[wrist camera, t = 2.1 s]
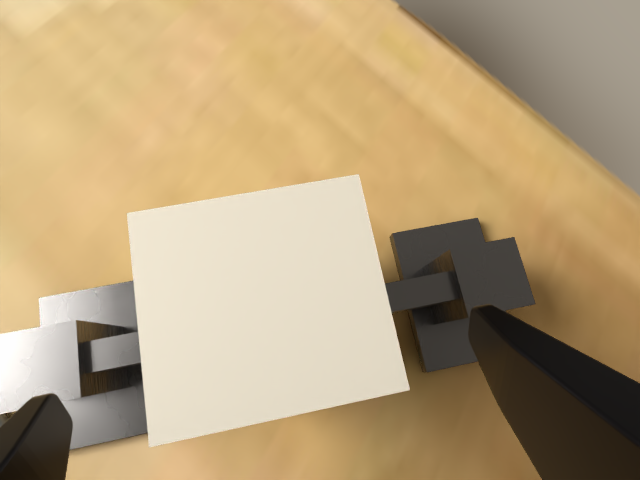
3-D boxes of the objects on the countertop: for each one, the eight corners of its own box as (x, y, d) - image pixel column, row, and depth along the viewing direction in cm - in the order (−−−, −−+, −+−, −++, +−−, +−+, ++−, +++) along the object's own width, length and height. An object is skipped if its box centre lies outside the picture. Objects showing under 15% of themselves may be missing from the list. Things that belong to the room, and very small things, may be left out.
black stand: (511, 352, 19) (575, 352, 14) (54, 451, 17) (-30, 485, 12) (472, 221, 20) (519, 186, 16) (47, 299, 18) (-30, 283, 14)
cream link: (350, 369, 18) (410, 390, 8) (231, 394, 18) (148, 447, 8) (328, 263, 19) (358, 174, 9) (215, 284, 19) (126, 213, 9)
